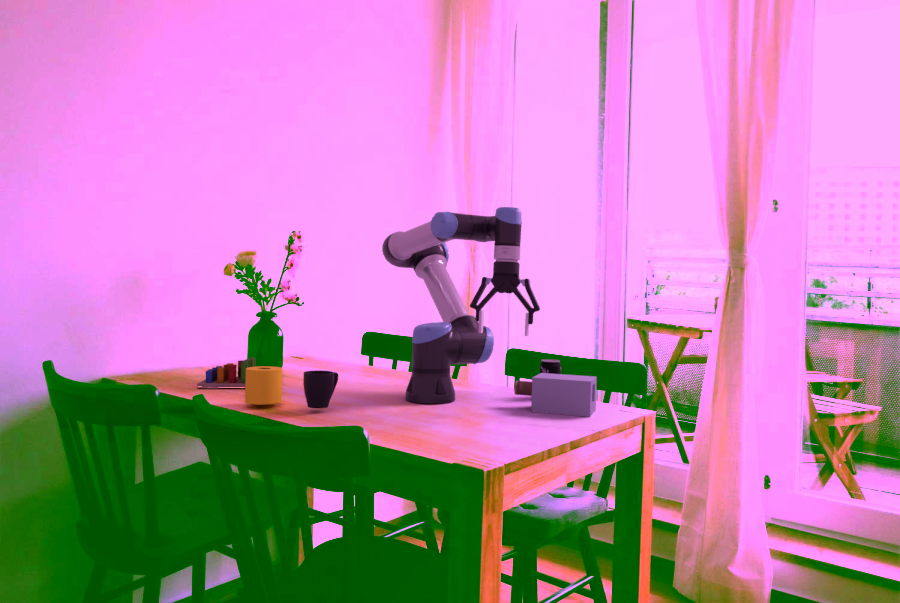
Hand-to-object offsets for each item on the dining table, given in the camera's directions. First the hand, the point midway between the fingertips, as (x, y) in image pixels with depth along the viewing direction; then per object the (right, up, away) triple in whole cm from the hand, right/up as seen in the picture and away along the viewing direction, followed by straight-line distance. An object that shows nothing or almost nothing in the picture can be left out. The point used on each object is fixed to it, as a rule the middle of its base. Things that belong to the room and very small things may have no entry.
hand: (503, 334), depth 196 cm
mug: (-51, -20, -9) cm, 55 cm away
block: (+16, -21, -7) cm, 28 cm away
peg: (+9, -17, -5) cm, 20 cm away
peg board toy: (-89, -19, +29) cm, 95 cm away
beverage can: (+16, -21, +14) cm, 30 cm away
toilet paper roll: (-69, -19, -5) cm, 71 cm away
